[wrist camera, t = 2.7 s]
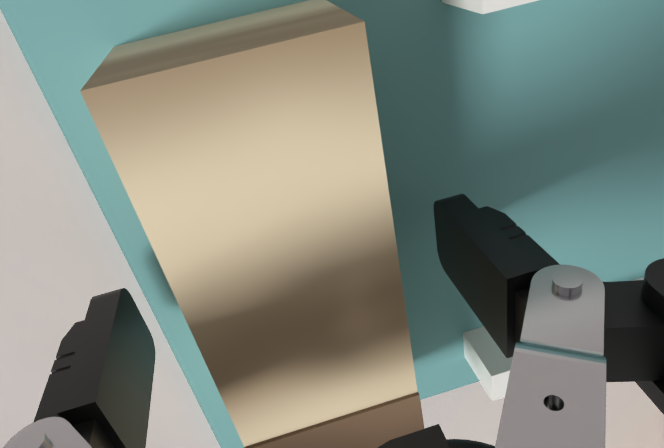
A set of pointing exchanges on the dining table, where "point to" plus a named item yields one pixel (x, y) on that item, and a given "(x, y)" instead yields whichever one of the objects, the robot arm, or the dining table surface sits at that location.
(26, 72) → the dining table surface
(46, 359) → the dining table surface
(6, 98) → the dining table surface
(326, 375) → the tan rectangular block
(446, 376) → the rubber mat
